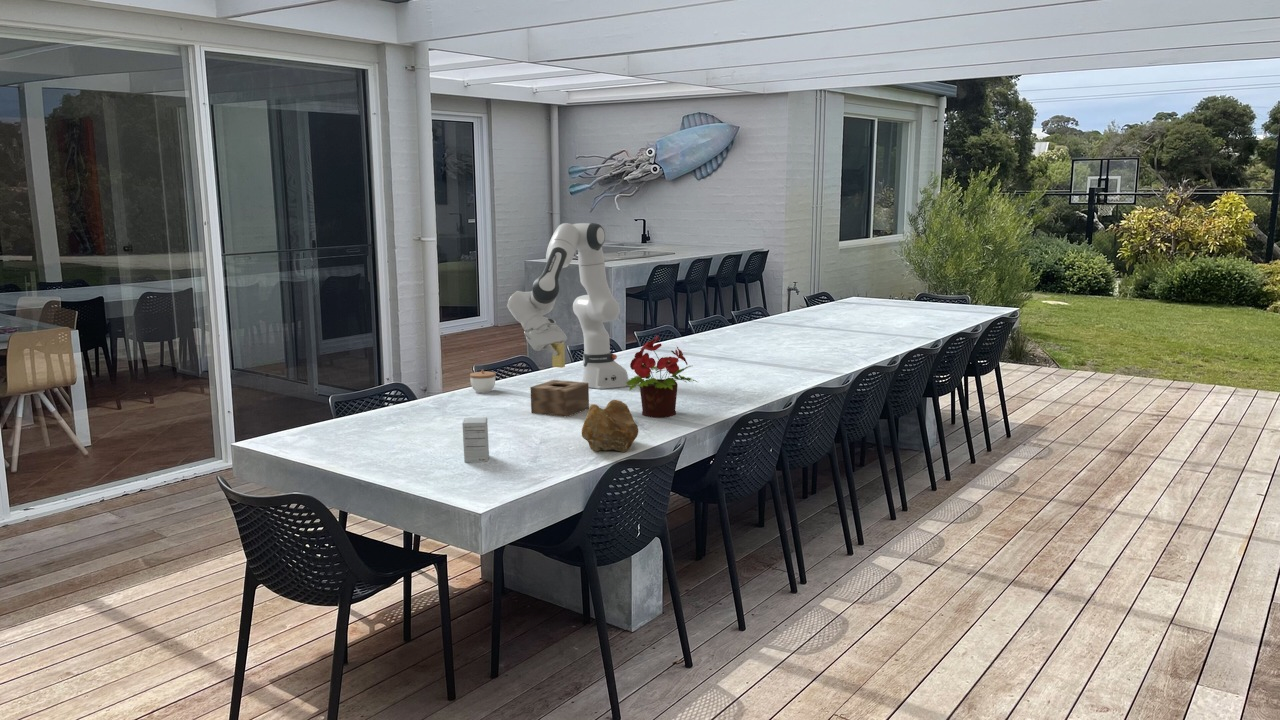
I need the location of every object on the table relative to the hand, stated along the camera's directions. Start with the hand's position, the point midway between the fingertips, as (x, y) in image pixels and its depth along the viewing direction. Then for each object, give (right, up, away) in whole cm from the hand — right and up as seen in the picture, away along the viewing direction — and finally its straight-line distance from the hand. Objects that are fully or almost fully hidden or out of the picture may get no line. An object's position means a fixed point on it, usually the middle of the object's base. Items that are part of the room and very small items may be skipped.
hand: (559, 354), depth 361 cm
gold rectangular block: (0, -5, +1) cm, 5 cm away
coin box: (0, -22, +4) cm, 22 cm away
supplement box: (-21, -33, -63) cm, 74 cm away
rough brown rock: (+22, -31, -52) cm, 65 cm away
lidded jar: (-36, -16, +43) cm, 58 cm away
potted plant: (+37, -23, -7) cm, 44 cm away
